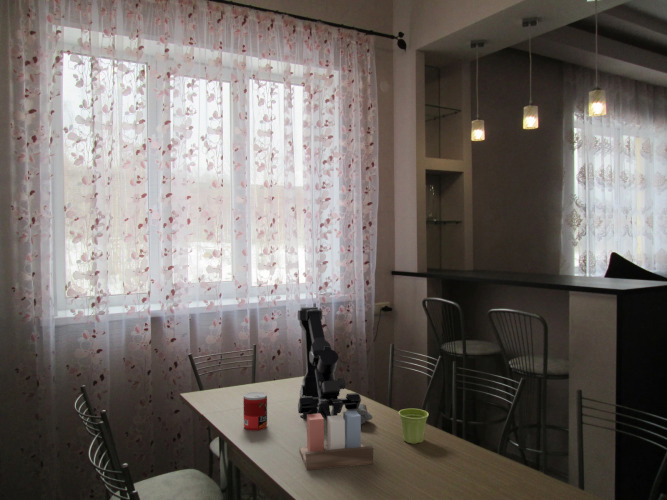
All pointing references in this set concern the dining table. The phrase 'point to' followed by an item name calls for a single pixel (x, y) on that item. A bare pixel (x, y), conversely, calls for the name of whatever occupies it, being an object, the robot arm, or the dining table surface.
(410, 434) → the plant pot
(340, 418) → the white tall block
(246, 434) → the dining table surface
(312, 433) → the red rectangular block
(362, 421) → the fossil
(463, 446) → the dining table surface
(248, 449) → the dining table surface
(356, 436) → the light blue tall block
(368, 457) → the wooden block stand
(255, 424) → the canned food
